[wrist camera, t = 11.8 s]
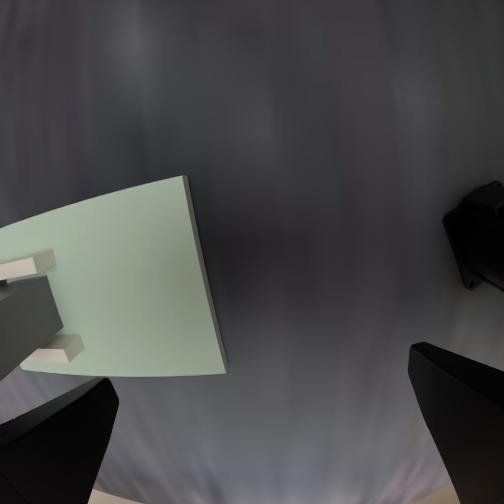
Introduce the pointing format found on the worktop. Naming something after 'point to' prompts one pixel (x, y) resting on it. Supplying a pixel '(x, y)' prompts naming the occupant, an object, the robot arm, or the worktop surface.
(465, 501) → the robot arm
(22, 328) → the plug
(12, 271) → the board
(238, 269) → the worktop surface
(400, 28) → the worktop surface
